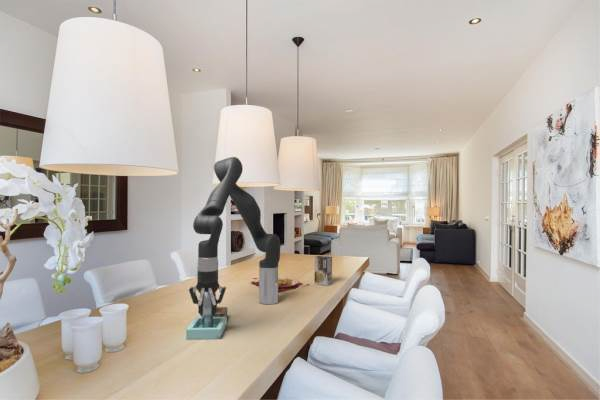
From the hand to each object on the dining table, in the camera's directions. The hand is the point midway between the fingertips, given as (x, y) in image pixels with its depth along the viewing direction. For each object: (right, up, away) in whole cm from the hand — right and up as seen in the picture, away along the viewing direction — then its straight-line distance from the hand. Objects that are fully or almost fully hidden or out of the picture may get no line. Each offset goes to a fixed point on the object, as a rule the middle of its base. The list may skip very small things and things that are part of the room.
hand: (207, 314), depth 127 cm
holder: (-1, -7, +13) cm, 15 cm away
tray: (0, -7, 0) cm, 7 cm away
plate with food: (+23, -8, +74) cm, 78 cm away
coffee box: (+49, -8, +76) cm, 91 cm away
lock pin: (0, -5, 0) cm, 5 cm away
